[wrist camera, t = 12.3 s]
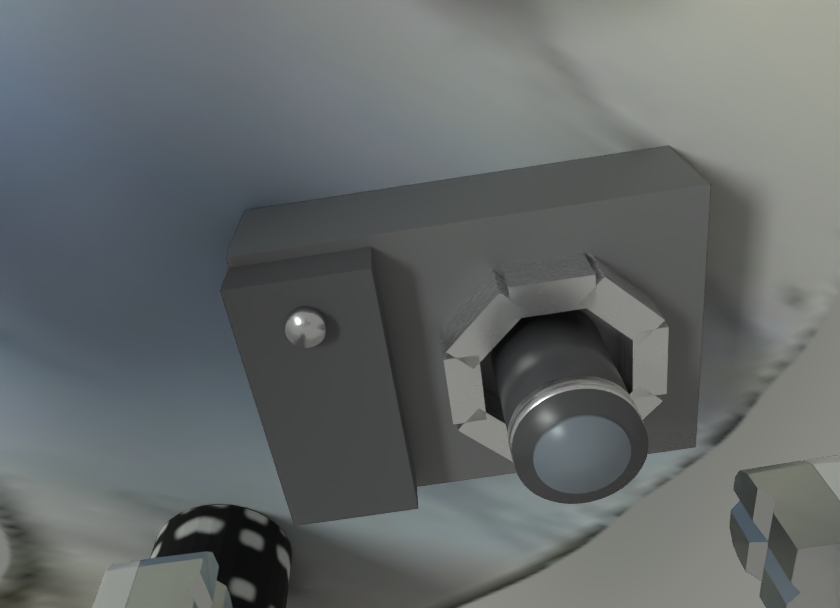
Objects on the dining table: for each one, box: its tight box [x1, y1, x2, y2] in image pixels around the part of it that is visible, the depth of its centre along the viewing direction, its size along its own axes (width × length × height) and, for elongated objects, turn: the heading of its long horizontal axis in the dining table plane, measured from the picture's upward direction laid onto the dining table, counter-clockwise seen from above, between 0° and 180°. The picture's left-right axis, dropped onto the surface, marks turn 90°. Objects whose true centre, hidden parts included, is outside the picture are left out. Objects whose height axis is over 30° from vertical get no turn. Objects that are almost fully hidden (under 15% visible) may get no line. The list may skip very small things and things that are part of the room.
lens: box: [491, 310, 649, 504], centre depth 31 cm, size 5×5×7 cm
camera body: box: [220, 146, 711, 526], centre depth 35 cm, size 20×14×8 cm
